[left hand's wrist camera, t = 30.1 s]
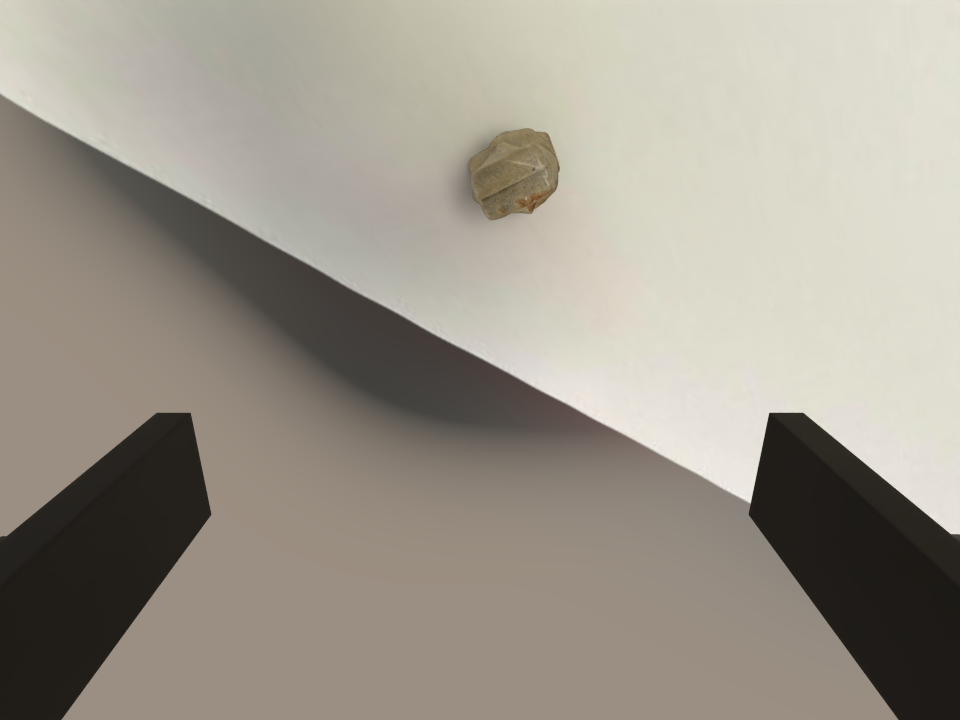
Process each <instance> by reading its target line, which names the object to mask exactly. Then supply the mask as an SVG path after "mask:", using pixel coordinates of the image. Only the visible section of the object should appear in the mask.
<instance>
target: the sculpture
mask: <svg viewBox="0 0 960 720" xmlns="http://www.w3.org/2000/svg"><path fill="white" fill-rule="evenodd" d="M559 169H560V167H559V163H558V160H557V157H556V154H555V151H554V148H553V145H552V143H551V140H550V137H549V135H548V134H547V133H545V132H535V131H534V130H532V129H521V130H516V131H508V132H504V133H501V134H500V135H498V136H497V137H496V138H495V139H493V140H492V141H491V143H490V147H489V148H487V149H485V150H484V151H482V152H480V153H479V154H477V155H476V156H474V157H472V158H471V160H470V161H469V172H470V176H471V185H472V189H473V198H474V200H475V201H476V202H477V203H479V204H481V207H482V209H483V211H484V213H485V215H486V216H487V217H488V218H489V219H490V220H496V219H499V218H502V217H505V216H507V215H509V214H511V213H526V214H531V213H532V212H533V210H534V209H535V208H537V207H538V206H539V205H541V204H542V203H544V202H545V201H546V200H547V198H548V197H549V196H550V195H551V194H552V193H553V192H554V191H555V190H556V188H557V185H558V172H559Z"/></svg>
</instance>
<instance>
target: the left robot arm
mask: <svg viewBox="0 0 960 720" xmlns="http://www.w3.org/2000/svg"><path fill="white" fill-rule="evenodd" d="M210 516H211V511H210V506H209V501H208V496H207V491H206V486H205V481H204V476H203V471H202V466H201V461H200V457H199V452H198V447H197V442H196V437H195V432H194V427H193V422H192V417H191V413H156V414H155V415H154V416H152V417H151V418H150V419H149V420H148V421H146V422H145V423H144V424H143V425H141V426H140V427H139V428H138V429H137V430H135V431H134V432H133V433H132V434H131V435H129V436H128V437H127V438H126V439H124V440H123V441H122V442H121V443H120V444H118V445H117V446H116V447H115V448H114V449H112V450H111V451H110V452H109V453H107V454H106V455H105V456H104V457H103V458H101V459H100V460H99V461H98V462H97V463H95V464H94V465H93V466H92V467H90V468H89V469H88V470H87V471H86V472H84V473H83V474H82V475H81V476H80V477H78V478H77V479H76V480H75V481H73V482H72V483H71V484H70V485H69V486H67V487H66V488H65V489H64V490H62V491H61V492H60V493H59V494H58V495H56V496H55V497H54V498H53V499H52V500H50V501H49V502H48V503H47V504H45V505H44V506H43V507H42V508H41V509H39V510H38V511H37V512H36V513H35V514H33V515H32V516H31V517H30V518H28V519H27V520H26V521H25V522H24V523H22V524H21V525H20V526H19V527H18V528H16V529H15V530H14V531H13V532H11V533H10V534H9V535H8V536H1V537H0V720H61V719H62V718H63V717H64V715H65V714H66V713H67V711H68V710H69V709H70V707H71V706H72V704H73V703H74V702H75V700H76V699H77V698H78V696H79V695H80V694H81V692H82V691H83V689H84V688H85V687H86V685H87V684H88V683H89V681H90V680H91V678H92V677H93V676H94V674H95V673H96V672H97V670H98V669H99V668H100V666H101V665H102V663H103V662H104V661H105V659H106V658H107V657H108V655H109V654H110V653H111V651H112V650H113V648H114V647H115V646H116V644H117V643H118V642H119V640H120V639H121V637H122V636H123V635H124V633H125V632H126V631H127V629H128V628H129V627H130V625H131V624H132V622H133V621H134V620H135V618H136V617H137V616H138V614H139V613H140V611H141V610H142V609H143V607H144V606H145V605H146V603H147V602H148V601H149V599H150V598H151V596H152V595H153V594H154V592H155V591H156V590H157V588H158V587H159V585H160V584H161V583H162V581H163V580H164V579H165V577H166V576H167V575H168V573H169V572H170V570H171V569H172V568H173V566H174V565H175V564H176V562H177V561H178V559H179V558H180V557H181V555H182V554H183V553H184V551H185V550H186V549H187V547H188V546H189V544H190V543H191V542H192V540H193V539H194V538H195V536H196V535H197V533H198V532H199V531H200V529H201V528H202V527H203V525H204V524H205V523H206V521H207V520H208V518H209V517H210ZM749 516H750V517H751V518H752V520H753V521H754V523H755V524H756V525H757V527H758V528H759V529H760V531H761V532H762V533H763V535H764V536H765V538H766V539H767V540H768V542H769V543H770V544H771V546H772V547H773V549H774V550H775V551H776V553H777V554H778V555H779V557H780V558H781V559H782V561H783V562H784V564H785V565H786V566H787V568H788V569H789V570H790V572H791V573H792V575H793V576H794V577H795V579H796V580H797V581H798V583H799V584H800V585H801V587H802V588H803V590H804V591H805V592H806V594H807V595H808V596H809V598H810V599H811V600H812V602H813V603H814V605H815V606H816V607H817V609H818V610H819V611H820V613H821V614H822V616H823V617H824V618H825V620H826V621H827V622H828V624H829V625H830V626H831V628H832V629H833V631H834V632H835V633H836V635H837V636H838V637H839V639H840V640H841V642H842V643H843V644H844V646H845V647H846V648H847V650H848V651H849V653H850V654H851V655H852V657H853V658H854V659H855V661H856V662H857V663H858V665H859V666H860V668H861V669H862V670H863V672H864V673H865V674H866V676H867V677H868V678H869V680H870V681H871V683H872V684H873V685H874V687H875V688H876V689H877V691H878V692H879V694H880V695H881V696H882V698H883V699H884V700H885V702H886V703H887V705H888V706H889V707H890V709H891V710H892V711H893V713H894V714H895V715H896V717H897V718H898V720H960V535H959V534H950V533H949V532H947V531H946V530H945V529H944V528H942V527H941V526H940V525H939V524H938V523H936V522H935V521H934V520H933V519H932V518H930V517H929V516H928V515H927V514H925V513H924V512H923V511H922V510H921V509H919V508H918V507H917V506H916V505H915V504H913V503H912V502H911V501H910V500H908V499H907V498H906V497H905V496H904V495H902V494H901V493H900V492H899V491H898V490H896V489H895V488H894V487H893V486H891V485H890V484H889V483H888V482H887V481H885V480H884V479H883V478H882V477H881V476H879V475H878V474H877V473H876V472H874V471H873V470H872V469H871V468H870V467H868V466H867V465H866V464H865V463H863V462H862V461H861V460H860V459H859V458H857V457H856V456H855V455H854V454H853V453H851V452H850V451H849V450H848V449H846V448H845V447H844V446H843V445H842V444H840V443H839V442H838V441H837V440H836V439H834V438H833V437H832V436H831V435H829V434H828V433H827V432H826V431H825V430H823V429H822V428H821V427H820V426H819V425H817V424H816V423H815V422H814V421H812V420H811V419H810V418H809V417H808V416H806V415H805V414H804V413H769V417H768V422H767V427H766V432H765V437H764V442H763V447H762V452H761V457H760V461H759V466H758V471H757V476H756V481H755V486H754V491H753V496H752V501H751V506H750V511H749Z"/></svg>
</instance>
